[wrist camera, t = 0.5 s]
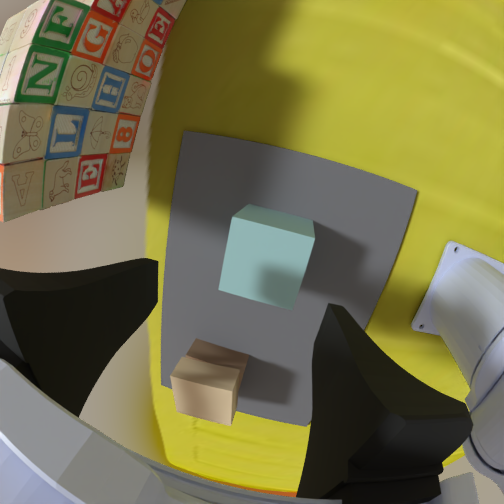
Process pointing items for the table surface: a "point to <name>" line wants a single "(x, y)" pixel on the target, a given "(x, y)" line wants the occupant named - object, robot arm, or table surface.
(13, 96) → the stack of blocks
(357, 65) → the table surface
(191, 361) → the oak slab
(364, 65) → the table surface
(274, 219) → the teal cube
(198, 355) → the walnut slab
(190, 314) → the rubber mat
